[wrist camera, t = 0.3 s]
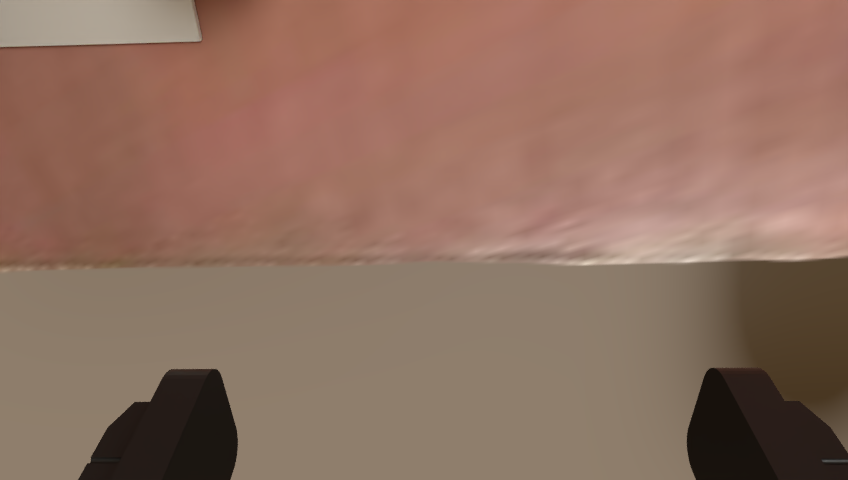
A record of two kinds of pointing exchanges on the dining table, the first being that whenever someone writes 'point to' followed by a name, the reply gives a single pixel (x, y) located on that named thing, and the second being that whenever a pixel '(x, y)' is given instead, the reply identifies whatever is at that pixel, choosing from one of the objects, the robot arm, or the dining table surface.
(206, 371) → the robot arm
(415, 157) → the dining table surface
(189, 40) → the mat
